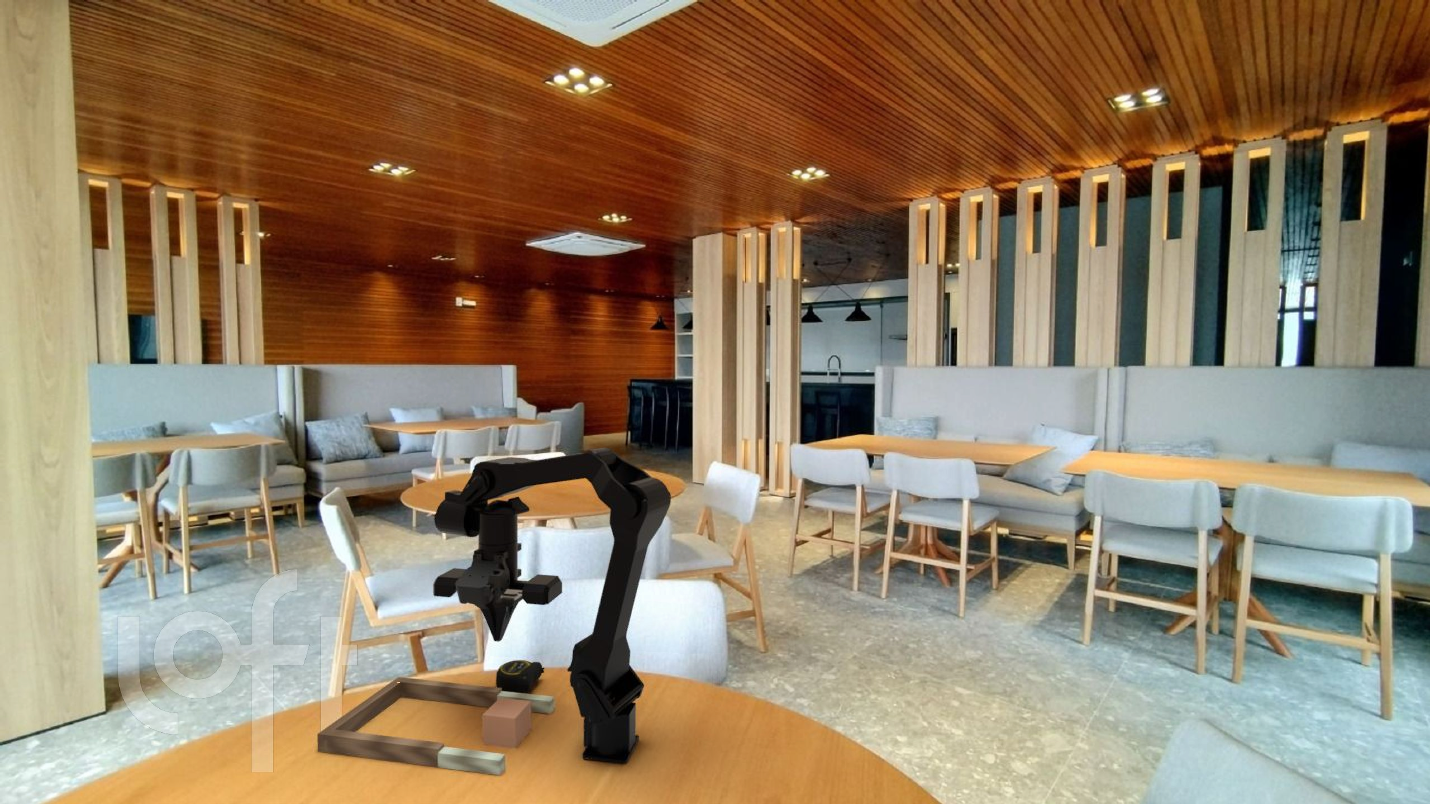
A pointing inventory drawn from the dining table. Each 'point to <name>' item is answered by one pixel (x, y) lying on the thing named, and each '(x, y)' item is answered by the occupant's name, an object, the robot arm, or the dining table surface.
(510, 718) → the block
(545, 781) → the dining table surface
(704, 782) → the dining table surface
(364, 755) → the bay
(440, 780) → the dining table surface
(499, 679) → the tape measure
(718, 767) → the dining table surface
